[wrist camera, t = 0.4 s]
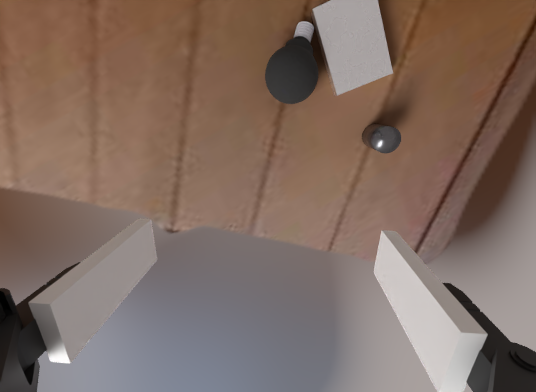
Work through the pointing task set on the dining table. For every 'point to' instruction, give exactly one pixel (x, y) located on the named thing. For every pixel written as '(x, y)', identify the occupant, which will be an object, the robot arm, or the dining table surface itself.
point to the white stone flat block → (352, 42)
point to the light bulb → (293, 68)
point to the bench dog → (381, 138)
